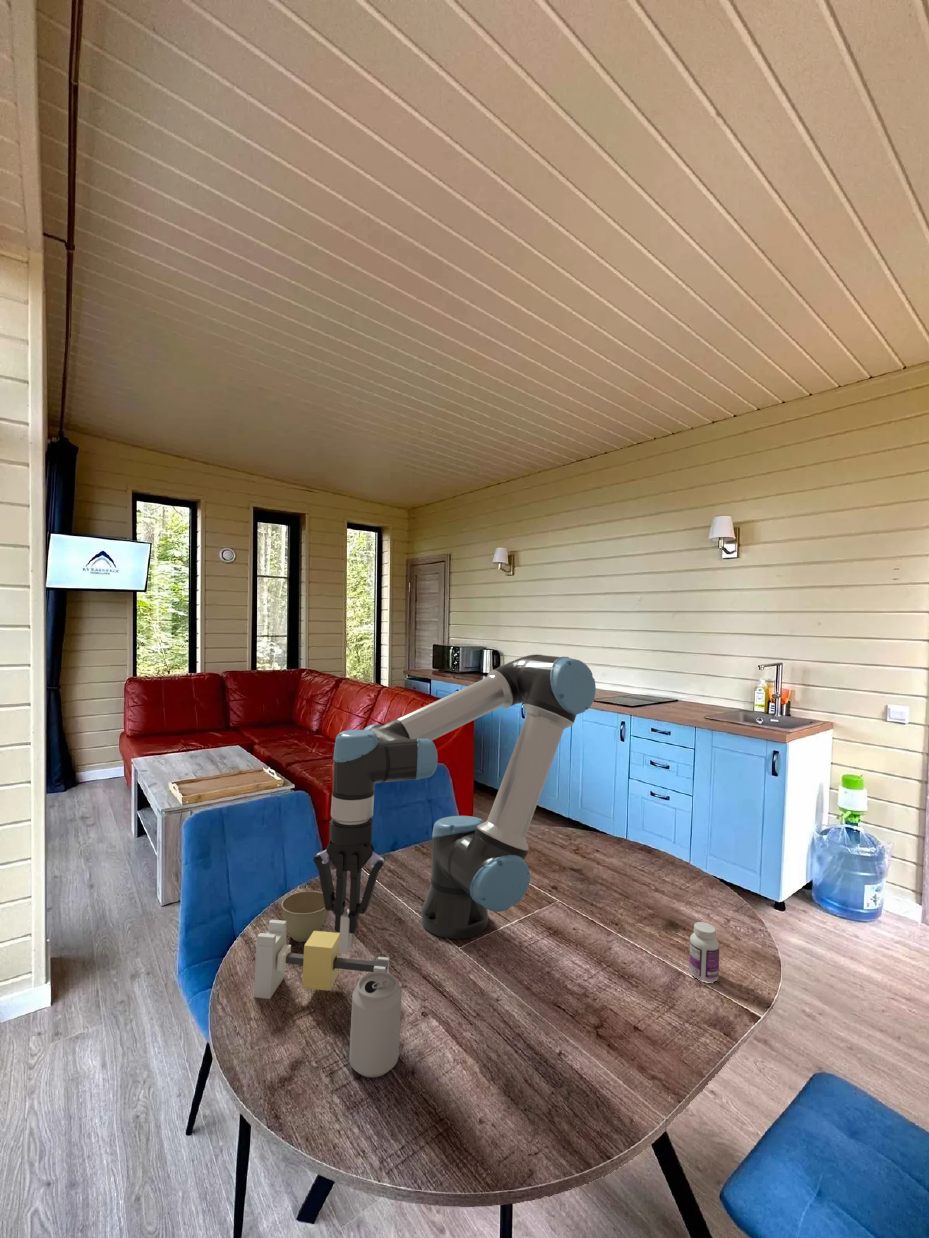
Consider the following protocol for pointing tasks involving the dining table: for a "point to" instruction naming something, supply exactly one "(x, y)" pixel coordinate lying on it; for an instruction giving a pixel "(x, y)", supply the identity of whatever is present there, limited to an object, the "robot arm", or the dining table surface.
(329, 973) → the sleeve
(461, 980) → the dining table surface
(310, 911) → the flower pot
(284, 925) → the linear slide mechanism
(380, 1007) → the can
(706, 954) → the pill bottle
